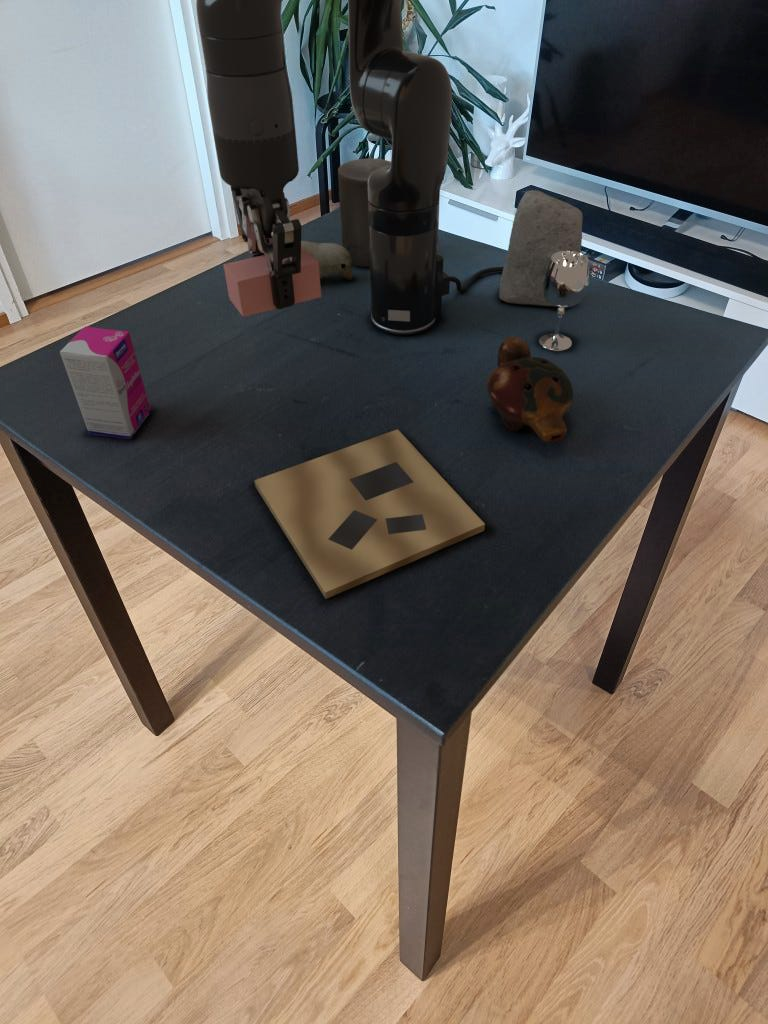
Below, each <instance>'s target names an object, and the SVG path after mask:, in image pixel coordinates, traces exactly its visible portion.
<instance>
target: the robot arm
mask: <svg viewBox="0 0 768 1024" xmlns="http://www.w3.org/2000/svg"><path fill="white" fill-rule="evenodd" d="M402 2H403V0H347V8H348V9H347V10H348V12H347V13H348V72H349V74H348V75H349V76H348V77H349V78H348V79H349V94H350V102H351V108H352V111H353V113H354V117H355V119H356V121H357V122H358V124H359V125H360V126H361V128H363V129H364V130H365V131H366V132H367V133H369V134H372V135H374V136H377V137H380V138H382V139H385V140H389V141H391V158H390V161H391V164H390V165H386V166H383V167H380V168H378V169H376V170H375V171H373V172H372V173H371V175H370V176H369V178H368V218H369V247H370V267H369V271H370V272H369V275H370V277H369V278H370V302H371V303H370V304H371V305H370V321H371V323H372V325H373V326H374V327H375V328H376V329H377V330H379V331H381V332H384V333H385V334H390V335H395V336H411V335H417V334H421V333H423V332H426V331H428V330H429V329H431V328H432V327H433V326H435V323H436V322H439V321H441V320H442V306H443V305H442V304H443V296H446V295H449V294H450V284H451V282H452V283H455V287H456V291H458V292H459V293H464V292H466V291H467V290H468V289H469V288H470V287H471V285H472V284H473V283H474V282H475V281H476V280H477V279H478V278H479V277H481V276H483V275H486V274H490V273H498V272H499V273H500V272H501V273H503V268H504V266H493V267H488V268H484V269H481V270H479V271H477V272H475V273H474V274H473V275H472V276H471V277H469V279H468V280H467V282H466V283H465V284H464V285H463V286H462V282H461V280H460V279H459V278H457V277H456V276H452V275H451V276H450V275H449V274H447V273H446V272H445V271H444V260H445V259H444V256H443V255H442V254H441V253H440V252H439V231H440V230H439V225H440V199H441V198H440V197H441V186H442V184H443V181H444V178H445V175H446V172H447V168H448V167H447V166H448V158H449V157H448V156H449V145H450V135H451V126H452V125H451V124H452V115H453V114H452V113H453V112H452V111H453V88H452V83H451V82H452V81H451V77H450V75H449V72H448V70H447V68H446V66H445V65H444V64H443V63H442V62H441V61H440V60H438V59H437V58H435V57H431V56H428V55H425V54H420V53H415V52H412V51H407V50H405V46H404V36H403V21H402V17H403V16H402V15H403V14H402V11H403V10H402V5H403V3H402ZM195 4H196V5H195V6H196V18H197V25H198V30H199V36H200V43H201V49H202V56H203V60H204V67H205V75H206V76H205V77H206V94H207V103H208V109H209V116H210V120H211V121H210V122H211V128H212V133H213V134H212V135H213V139H214V145H215V146H214V147H215V151H216V152H215V153H216V158H217V163H218V170H219V174H220V179H222V181H223V182H224V183H225V184H227V185H229V186H230V190H231V193H232V197H233V203H234V206H235V210H236V211H235V212H236V215H237V219H238V224H239V229H240V232H241V239H242V240H243V242H244V243H247V242H248V244H247V249H248V252H249V253H250V255H252V258H253V257H258V256H262V255H265V257H266V262H267V266H268V272H269V276H270V283H271V291H272V298H273V304H274V306H275V307H276V308H277V310H282V309H286V308H290V307H292V306H294V305H295V304H294V303H295V297H294V288H293V279H292V275H293V274H297V273H300V272H301V241H302V223H301V221H300V219H299V218H295V219H291V220H290V217H291V214H292V213H291V207H290V203H289V200H288V198H287V197H286V195H285V192H284V189H285V187H286V186H287V184H289V183H290V182H293V181H294V180H295V179H296V178H297V176H298V175H299V171H300V166H299V165H300V164H299V155H298V146H297V134H296V123H295V113H294V112H295V111H294V100H293V91H292V88H291V82H290V79H289V73H288V67H287V56H286V46H285V45H286V44H285V36H284V35H285V34H284V25H283V18H282V17H283V16H282V8H283V7H282V5H283V0H196V3H195ZM283 259H285V261H283ZM282 261H283V262H282Z"/></svg>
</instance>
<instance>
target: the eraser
mask: <svg viewBox="0 0 768 1024" xmlns="http://www.w3.org/2000/svg"><path fill="white" fill-rule="evenodd" d="M283 261H285V259H283ZM283 261H282V262H283ZM222 266H223V271H224V276H225V282H226V287H227V294H228V299H229V300H230V302H231V303H232V304H233V306H234V307H235V308H236V310H237V311H238V313H239V314H240V315H241V316H242V318H244V317H250V316H253V315H258V314H260V313H265V312H270V311H273V310H275V309H277V308H276V307H275V306H274V304H273V298H272V291H271V283H270V276H269V272H268V266H267V262H266V257H265V255H262V256H258V257H253V256H252V257H249V258H244V259H241V260H236V261H232V262H231V261H230V262H227V263H224V264H223V265H222ZM292 279H293V288H294V297H295V303H294V305H295V304H296V305H297V304H300V303H304V302H307V301H312V300H316V299H319V298H322V288H321V279H320V274H319V263H318V261H317V260H316V259H315V258H314V257H313V256H312V255H311V254H310V253H308V252H307V251H306V250H305V249H304V248H303V247H301V272H300V273H297V274H293V275H292ZM277 310H278V309H277Z"/></svg>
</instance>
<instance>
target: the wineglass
mask: <svg viewBox="0 0 768 1024" xmlns="http://www.w3.org/2000/svg"><path fill="white" fill-rule="evenodd" d="M589 283H590V262H589V258H588V256H587V255H586V254H585V253H582V252H580V253H579V252H575V251H560V252H556V253H554V254H553V255H552V256H551V259H550V261H549V263H548V266H547V269H546V271H545V275H544V279H543V294H544V297H545V299H546V300H547V301H548V302H549V303H550V304H552V305H554V306H553V307H555V306H557V310H556V327H555V331H554V332H551V333H550V332H549V333H545V334H543V335H541V336H540V338H539V340H538V343H539V345H540V346H541V347H542V348H544V349H546V350H549V351H553V352H562V351H566V350H568V349H570V348H571V347H572V345H573V341H572V339H571V338H570V337H568V336H567V335H565V334H562V333H560V329H561V323H562V320H563V317H564V316H565V308H566V309H567V308H572V307H575V306H577V305H579V303H581V302H582V301H583V300H584V298H585V297H586V295H587V292H588V289H589Z"/></svg>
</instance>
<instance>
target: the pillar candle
mask: <svg viewBox="0 0 768 1024" xmlns="http://www.w3.org/2000/svg"><path fill="white" fill-rule="evenodd" d="M390 164H391V160H386V159H383V158H377V157H376V158H361V159H360V158H359V159H358V158H357V159H352V160H349V161H347V162H344V163H342V164H341V165H340V166H338V169H337V170H338V171H337V177H338V178H337V179H338V197H339V213H340V225H341V228H340V229H341V243H342V244H341V245H342V246H343V247H344V248H345V249H346V250H347V251H348V252H349V254H350V256H351V259H352V263H353V264H352V266H355V267H360V268H370V247H369V218H368V178H369V176H370V175H371V173H372V172H373V171H375V170H376V169H378V168H380V167H383V166H386V165H390Z"/></svg>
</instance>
